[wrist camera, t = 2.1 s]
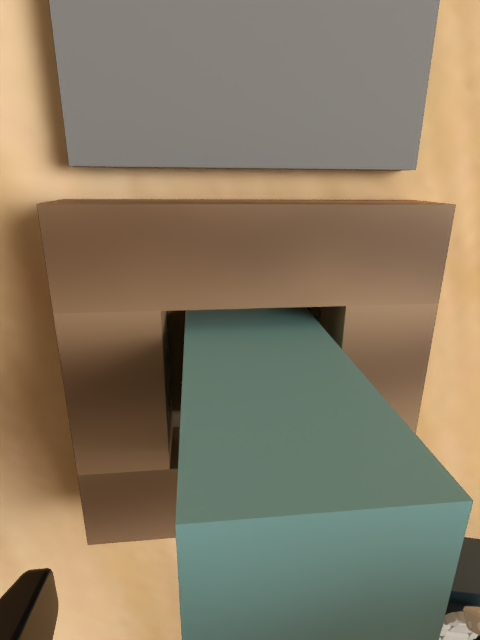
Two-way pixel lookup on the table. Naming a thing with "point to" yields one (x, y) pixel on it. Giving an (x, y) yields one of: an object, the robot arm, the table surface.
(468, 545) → the watch
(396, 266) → the pocket
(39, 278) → the table surface
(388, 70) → the pad
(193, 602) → the peg
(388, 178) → the table surface
